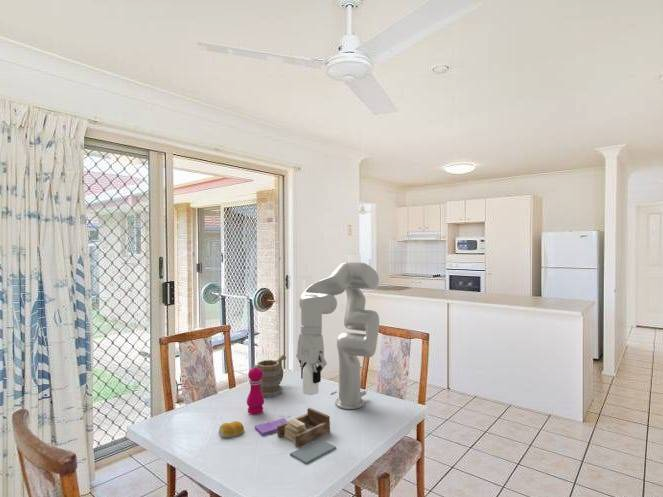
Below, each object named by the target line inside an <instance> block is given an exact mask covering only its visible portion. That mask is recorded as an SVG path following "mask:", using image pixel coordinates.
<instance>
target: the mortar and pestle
mask: <svg viewBox="0 0 663 497" xmlns="http://www.w3.org/2000/svg"><path fill="white" fill-rule="evenodd" d="M286 359H287V356H285V355H284V354H281V356H280V357H278V358H277V359H276V360H274V359H266V360H264V359H263V360H261V361H258V362H257V363H256V365H257V366H258V367H257V368H259V369H261V370H262V372H263V376H262V378H261V382H262V383H261V384H260V389H261V392H262V395H263V397H264V398H269V397H270V398H272V397H276V396H278V395H280V394H282V393H283V389H282V386H281V382H282V381H283V377H284V370H283V361H285V360H286Z"/></svg>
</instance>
